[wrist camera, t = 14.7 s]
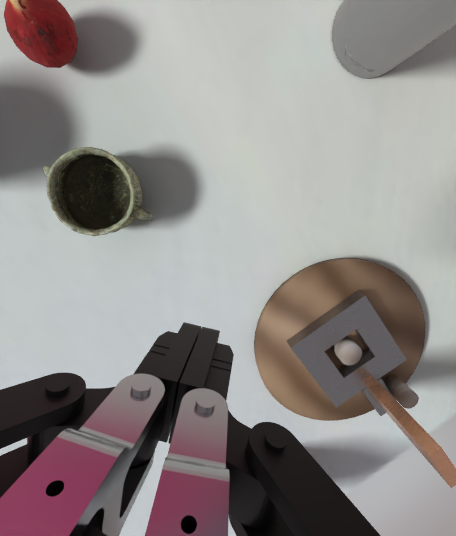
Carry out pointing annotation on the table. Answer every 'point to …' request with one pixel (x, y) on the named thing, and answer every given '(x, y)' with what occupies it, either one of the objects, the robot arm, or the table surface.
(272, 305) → the post base
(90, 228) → the vessel
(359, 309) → the handled square nut
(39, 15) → the red oval fruit
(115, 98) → the table surface
